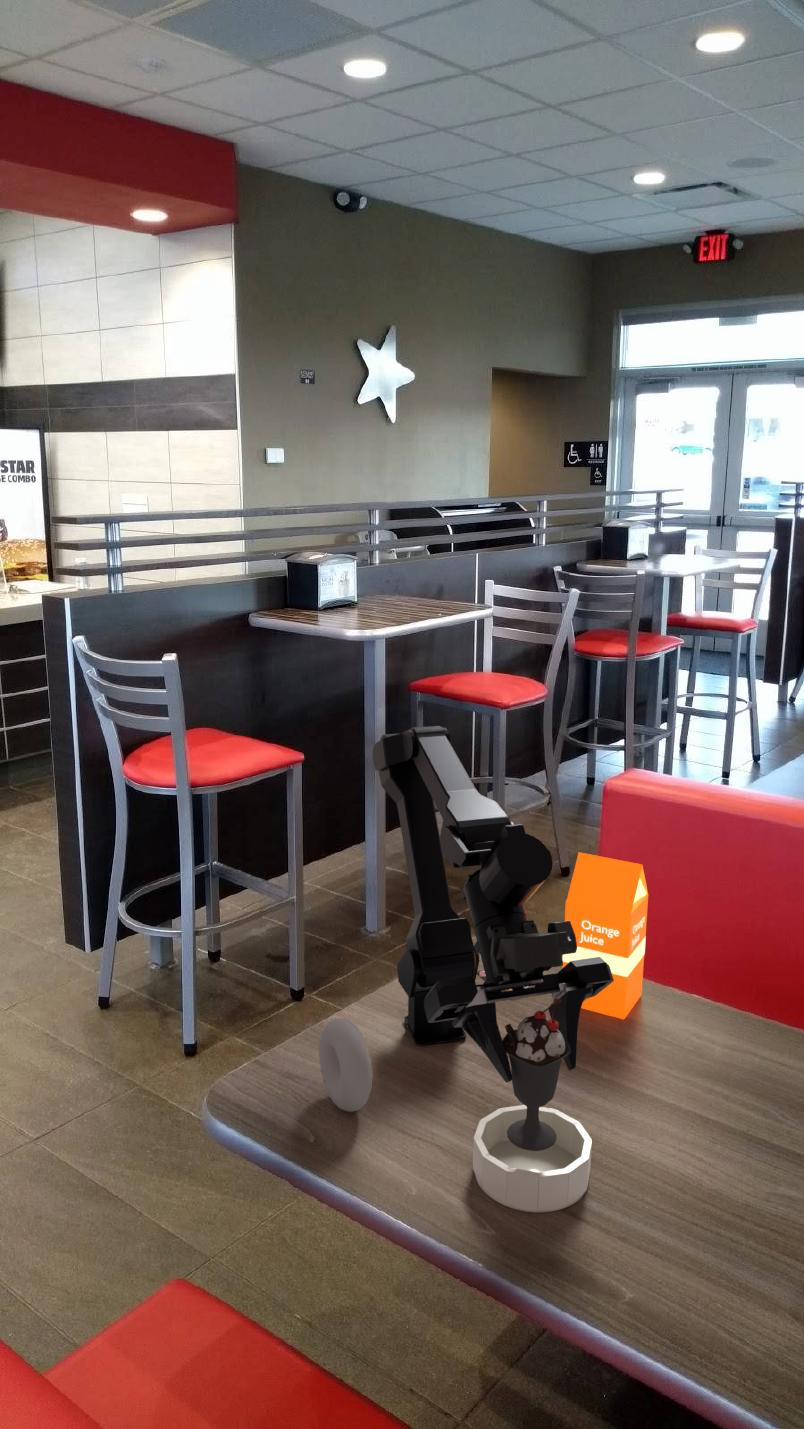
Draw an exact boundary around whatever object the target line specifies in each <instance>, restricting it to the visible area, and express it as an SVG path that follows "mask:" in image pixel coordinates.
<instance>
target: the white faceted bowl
mask: <svg viewBox="0 0 804 1429" xmlns="http://www.w3.org/2000/svg"><path fill="white" fill-rule="evenodd" d="M526 1116H527V1106H526V1105H524V1104H521V1105H513V1106H508V1107H507V1106H506V1107H500V1108H498V1109H496V1110H494V1111H492V1112H491V1113H489V1114H488V1115H486V1116H484V1117H483V1118H482V1119H480V1120H479V1122H478V1125H477V1127H476V1130H475V1134H474V1136H473V1149H472V1151H473V1154H472V1170H473V1171H474V1178H475V1180H476V1183H477V1185H478V1187H479V1188H480V1189H481V1191H483V1192H484V1194H485V1195H487V1196H488V1197H489V1198H491V1199H492V1200H494V1201H495V1202H497V1203H499V1204H500V1205H503V1206H504V1207H507V1208H510V1209H512V1210H516V1211H521V1212H526V1213H536V1214H537V1213H551V1212H556V1211H557V1212H558V1211H561V1210H564V1209H566V1208H569V1207H571V1206H572V1205H574V1204H576V1203H577V1202H579V1200H581V1199H582V1198H583V1196H584V1195H585V1193H586V1191H587V1190H588V1186H589V1180H590V1179H589V1178H590V1173H591V1163H592V1162H591V1161H592V1159H591V1158H592V1146H593V1144H592V1143H593V1139H592V1138H591V1136H590V1135H589V1133H588V1132H587V1131H586V1129H585V1128H584V1126H583V1125H582V1123H581V1122H580V1121H578V1120H576V1119H575V1118H573V1117H570V1116H569V1115H567V1114H565V1113H563V1112H562V1111H560V1110H558V1109H556V1108H550V1107H546V1106H542V1107H539V1121H541V1122H544V1123H546V1124H547V1125H549V1126H551V1127H552V1128H553V1130H554V1131H555V1133H556V1138H557V1139H556V1141H555V1143H554V1144H553V1145H552V1146H551V1147H549V1148H547V1149H545V1150H540V1151H529V1150H525V1149H522V1148H519V1147H517V1146H515V1145H514V1144H513V1143H512V1142H511V1141H510V1140H509V1139H508V1137H507V1130H508V1128H509V1127H510V1125H512V1124H513V1123H515V1122H517V1121H520V1120H524V1119H526Z"/></svg>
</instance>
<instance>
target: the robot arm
mask: <svg viewBox="0 0 804 1429" xmlns="http://www.w3.org/2000/svg"><path fill="white" fill-rule="evenodd" d="M451 743H452V742H451V737H450V733H449V730H448V729H447V727H442V726H440V725H433V726H430V725H429V726H418V727H417V726H416V727H411V728H410V729H407V730H405V731H403V732H401V733H400V732H399V733H386V734H383V735H382V736H381V737H380V739H379V740H378V741H377V742H376V743H374V745H373V747H372V748H373V749H372V762H373V766H374V769H375V770H376V771H377V772H378V776H379V780H380V784H381V787H382V789H383V790H385V792H386V793H387V794H388V795H389V797H390V798H391V799H392V800H393V801H394V802H395V804H396V806H397V812H398V819H399V823H400V824H399V826H400V831H401V836H402V841H403V842H402V843H403V849H404V855H405V861H406V866H407V867H406V868H407V873H408V880H409V885H410V892H411V893H410V894H411V897H412V904H413V911H414V918H413V920H412V922H411V926H410V929H409V932H408V933H407V936H406V939H405V942H406V944H405V945H406V951H405V952H404V953H403V955H402V957H401V958H400V960H399V961H398V963H397V964H396V970H397V980H398V983H399V985H400V986H401V988H402V989H403V991H404V993H405V994H406V995H407V997H408V998H407V999H408V1002H407V1007H408V1008H407V1009H408V1010H407V1015H405V1016H404V1018H403V1019H404V1021H403V1022H405V1025H406V1027H407V1030H408V1032H409V1034H410V1035H411V1038H412V1039H413V1042H414V1044H415V1045H417V1046H422V1045H431V1044H440V1043H447V1042H456V1041H465V1040H466V1039H467V1035H469V1037H470V1038H471V1039H472V1040H473V1041H474V1042H475V1044H477V1045H478V1047H479V1048H480V1049H481V1051H482V1052H483V1053H484V1055H485V1056H486V1057H487V1059H488V1060H489V1062H491V1064H492V1066H493V1067H494V1068H495V1069H496V1071H497V1072H498V1074H499V1075H500V1077H501V1078H502V1079H503V1081H504V1082H506V1083H509V1082H512V1073H511V1064H510V1059H509V1056H508V1054H507V1053H506V1051H505V1047H504V1044H503V1038H502V1036H501V1031H500V1029H499V1026H498V1022H497V1021H498V1020H497V1006H496V1005H497V1004H496V1003H499V1002H502V1001H503V1002H504V1001H511V999H518V998H523V999H525V998H524V997H527V998H531V997H535V996H542V995H549V994H551V997H552V1001H553V1002H554V999H555V998H557V999H560V1000H561V1002H560V1003H558V1004H557V1005H556V1003H557V1002H554V1003H553V1005H552V1006H551V1007H550V1008H549V1009H548V1010H547V1011H548V1013H549V1016H550V1019H552V1011H553V1008H554V1006H555V1005H556V1007H555V1009H554V1020H556V1021H557V1022H558V1023H559V1027H558V1029H557V1030H559V1031H560V1032H561V1034H562V1036H563V1037H564V1038H565V1039H566V1041H567V1042H568V1044H569V1046H570V1050H571V1052H570V1054H569V1055H568V1056H567V1057H565V1058H564V1059H563V1061H564V1064H565V1065H566V1066H565V1067H566V1068H567V1070H568V1072H572V1071H574V1070H575V1069H577V1053H578V1052H577V1051H578V1030H579V1028H578V1027H579V1019H580V1015H581V1010H582V1008H581V1006H582V1004H583V1001H585V1000H586V999H587V998H591V997H593V996H596V995H597V994H598V993H599V992H601V991H602V990H603V989H604V988H606V987H607V986H608V985H609V984H611V983H612V982H613V981H614V979H613V976H612V973H611V969H610V966H609V965H608V964H607V963H606V962H605V961H604V960H603V959H602V958H601V957H595V958H588V959H581V960H574V961H570V962H569V963H568V964H567V965H566V966H565V967H563V955H564V954H571V953H576V951H577V942H576V936H575V933H574V930H573V927H572V925H571V922H570V921H565V920H561V921H555V922H553V921H552V922H549V923H548V924H547V932H539V931H538V927H537V925H536V923H535V921H534V919H532V920H529V918H528V917H529V916H528V914H527V911H526V907H525V903H527V902H529V900H530V898H531V897H532V896H533V895H535V893H536V892H537V891H538V889H539V888H541V886H542V885H543V884H544V882H546V880H547V879H548V878H549V876H550V875H551V872H552V870H553V856H552V854H551V851H550V850H549V849H548V848H547V847H546V845H545V844H544V843H543V842H542V841H541V840H540V839H538V838H537V837H535V836H533V835H531V834H528V833H526V830H525V826H524V824H523V823H514V822H513V821H512V820H511V819H510V818H509V816H508V814H507V813H506V812H505V810H504V809H503V808H502V807H501V806H500V804H499V803H498V802H496V800H493V799H491V798H489V797H486V796H485V795H482V794H481V793H480V792H479V791H478V790H477V788H476V787H475V784H474V783H473V781H472V779H471V777H470V775H469V774H468V772H467V770H466V769H465V767H464V765H463V763H462V762H461V760H460V758H459V756H458V754H457V753H456V751H455V749H454V747H453V746H452V744H451ZM435 806H436V807H437V810H438V812H439V814H440V816H441V818H442V824H441V830H440V832H439V827H438V826H439V825H438V820H437V814H436V809H435ZM444 858H445V859H446V860H448V862H449V864H450V866H452V867H453V868H454V869H463V868H471V867H480V869H477V870H476V871H474V872H473V873H470V874H468V875H467V878H466V881H465V883H464V884H463V888H462V892H461V898H462V900H464V901H465V900H466V903H467V907H468V910H469V914H470V920H471V922H472V927H473V931H474V934H475V940H476V942H474V941H473V938H472V930H471V924H470V922H469V921H468V919H467V918H466V917H461V916H460V915H459V913H457V912H456V911H455V909H454V908H453V905H452V900H451V894H450V888H449V883H448V878H447V872H446V866H445V859H444ZM480 958H481V961H482V962H481V963H482V966H483V970H484V971H485V975H486V979H487V980H486V981H485V980H484V981H483V983H482V984H477V983H476V979H477V976H478V975H477V971H479V970H478V969H479V965H480ZM557 967H558V968H559V967H563V968H561V969H560V970H559V971H558V972H556V973H549V974H544V972H545V971H546V972H547V971H550V970H551V969H552V968H557ZM527 986H529V987H531V988H526V989H525V988H524V987H527ZM506 989H507V990H509V989H512V991H511V990H510V991H506V992H504V991H503V992H501V991H502V990H506Z"/></svg>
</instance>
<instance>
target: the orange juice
mask: <svg viewBox="0 0 804 1429" xmlns="http://www.w3.org/2000/svg"><path fill="white" fill-rule="evenodd" d="M648 903H649V893H648V887H647V880H646V877H645V872H644V865H643V864H641V863H636V862H631V861H626V860H620V859H615V858H610V857H607V856H606V857H605V856H601V855H600V856H599V855H596V854H589V853H583V852H580V851H579V852H578V854H577V858H576V862H575V865H574V871H573V873H572V877H571V882H570V886H569V889H568V894H567V898H566V900H565V907H564V908H565V909H564V910H565V912H564V921H570V922H571V925H572V927H573V930H574V933H575V936H576V942H577V951H576V953H571V954H564V955H562V959H563V966H561V967H562V968H563V967H565V966H566V965H567V964H568V963H569V962H570V961H574V960H581V959H588V958H595V957H601V958H602V959H603V960H604V961H605V962H606V963H607V964H608V965H609V966H610V969H611V973H612V976H613V979H614V981H613V982H612V983H611V984H609V985H608V986H607V987H606V988H604V989H603V990H602V991H601V992H599V993H598V994H597V995H596V996H593V997H591V998H587V999H586V1000H585V1001H583V1004H582V1006H581V1009H583V1010H586V1011H591V1012H594V1013H598V1014H602V1015H605V1016H610V1017H613V1018H618V1019H619V1020H620V1019H621V1020H625V1019H626V1018H627V1016H628V1015H629V1013H630V1012H631V1011H632V1009H633V1008H634V1006H635V1005H636V1004H637V1002H638V1001H639V999H640V998H641V996H642V994H643V993H642V992H643V991H642V990H643V979H644V978H643V976H644V964H645V963H644V961H645V954H646V938H647V936H646V935H647V934H646V933H647V919H648V918H647V917H648V907H649V906H648V905H649V904H648ZM562 968H561V969H562Z"/></svg>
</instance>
